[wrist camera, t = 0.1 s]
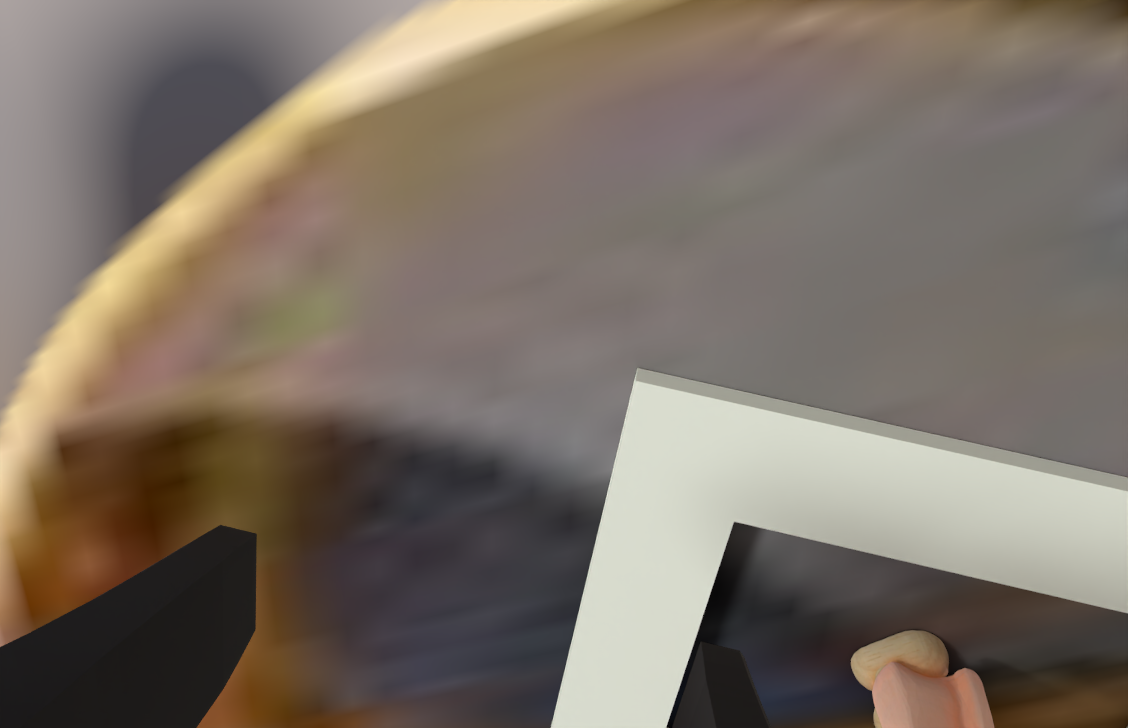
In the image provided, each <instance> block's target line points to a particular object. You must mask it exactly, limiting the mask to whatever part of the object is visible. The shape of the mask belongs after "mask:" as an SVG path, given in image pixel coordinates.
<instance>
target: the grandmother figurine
mask: <svg viewBox="0 0 1128 728" xmlns="http://www.w3.org/2000/svg"><path fill="white" fill-rule="evenodd" d="M948 666H949V657H948V653H947V650H946V648H945V646H944V644H943V642H942V641H941V640H940V639H939V638H938V637H936V636H935V635H933V634H931V633H929V632H926V631H923V630H921V631H916V630H909V631H904V632H901V633H898V634H895V635H893V636H889V637H887V638H885V639H883V640H880V641H877V642H874V643H872V644H869V645H868V646H865V647H862V648H860V649H859V650H858V651H856V652H855V653H854V655H853V657H852V659H851V667H852V670H853V673H854V675H855V677H856V679H857V680H858V681H859V682H860V683H861V684H862V685H863V686H864V687H866V688H867V689H869V690H871V691H872V695H873V701H874V705H875V710H874V724H875V727H876V728H994V723H993V719H992V715H991V712H990V708H989V705H988V701H987V698H986V694H985V691H984V687H983V683H982V681H981V679H980V678H979V676H978V675H977V673H975V672H974V671H973V670H970V669H967V668H963V669H961V670H958V671H956V672H955V673H954V675H952V676H948V677H946V676H947V675H948Z"/></svg>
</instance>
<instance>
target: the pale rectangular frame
mask: <svg viewBox="0 0 1128 728" xmlns="http://www.w3.org/2000/svg"><path fill="white" fill-rule="evenodd" d="M734 522H738V523H742V524H747V525H751V526H755V527H760V528H764V529H768V530H772V531H777V532H781V533H785V534H790V535H794V536H798V537H802V538H807V539H811V540H815V541H820V542H824V543H828V544H832V545H837V546H841V547H845V548H850V549H854V550H858V551H862V552H867V553H871V554H875V555H880V556H884V557H888V558H892V559H897V560H901V561H905V562H910V563H914V564H918V565H922V566H927V567H931V568H935V569H940V570H944V571H948V572H952V573H957V574H961V575H965V576H970V577H974V578H978V579H982V580H987V581H991V582H995V583H1000V584H1004V585H1008V586H1012V587H1017V588H1021V589H1025V590H1030V591H1034V592H1038V593H1043V594H1047V595H1051V596H1055V597H1060V598H1064V599H1068V600H1073V601H1077V602H1081V603H1085V604H1090V605H1094V606H1098V607H1103V608H1107V609H1111V610H1115V611H1120V612H1124V613H1128V477H1123V476H1119V475H1114V474H1110V473H1105V472H1101V471H1096V470H1092V469H1087V468H1083V467H1078V466H1074V465H1070V464H1065V463H1061V462H1056V461H1052V460H1047V459H1043V458H1038V457H1034V456H1029V455H1025V454H1020V453H1016V452H1011V451H1007V450H1002V449H998V448H994V447H989V446H985V445H980V444H976V443H971V442H967V441H962V440H958V439H953V438H949V437H944V436H940V435H935V434H931V433H926V432H922V431H918V430H913V429H909V428H904V427H900V426H895V425H891V424H886V423H882V422H877V421H873V420H868V419H864V418H859V417H855V416H850V415H846V414H842V413H837V412H833V411H828V410H824V409H819V408H815V407H810V406H806V405H801V404H797V403H792V402H788V401H783V400H779V399H774V398H770V397H766V396H761V395H757V394H752V393H748V392H743V391H739V390H734V389H730V388H725V387H721V386H716V385H712V384H707V383H703V382H698V381H694V380H690V379H685V378H681V377H676V376H672V375H667V374H663V373H658V372H654V371H649V370H645V369H640V368H637V372H636V376H635V380H634V384H633V388H632V392H631V397H630V401H629V405H628V409H627V413H626V417H625V422H624V426H623V430H622V434H621V438H620V442H619V446H618V451H617V455H616V459H615V463H614V467H613V471H612V476H611V480H610V484H609V488H608V492H607V496H606V501H605V505H604V509H603V513H602V517H601V521H600V526H599V530H598V534H597V538H596V542H595V546H594V551H593V555H592V559H591V563H590V567H589V571H588V575H587V580H586V584H585V588H584V592H583V596H582V600H581V605H580V609H579V613H578V617H577V621H576V625H575V630H574V634H573V638H572V642H571V646H570V650H569V655H568V659H567V663H566V667H565V671H564V675H563V680H562V684H561V688H560V692H559V696H558V700H557V704H556V709H555V713H554V717H553V721H552V725H551V728H667V724H668V721H669V718H670V714H671V711H672V708H673V705H674V702H675V699H676V696H677V693H678V690H679V687H680V684H681V681H682V678H683V675H684V672H685V669H686V666H687V663H688V660H689V657H690V654H691V651H692V648H693V645H694V642H695V639H696V636H697V633H698V630H699V626H700V623H701V620H702V617H703V614H704V611H705V608H706V605H707V602H708V599H709V596H710V593H711V590H712V587H713V584H714V581H715V578H716V575H717V572H718V569H719V566H720V563H721V560H722V557H723V554H724V551H725V548H726V545H727V541H728V538H729V535H730V532H731V529H732V526H733V523H734ZM1126 728H1128V726H1127V727H1126Z"/></svg>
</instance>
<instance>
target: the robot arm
mask: <svg viewBox="0 0 1128 728" xmlns="http://www.w3.org/2000/svg"><path fill="white" fill-rule="evenodd" d="M256 536H257V534H255V533H251V532H247V531H243V530H239V529H235V528H231V527H227V526H222V525H220V526H218V527H216V528H214V529H213V530H211V531H209V532H207V533H206V534H204V535H202V536H201V537H199V538H197V539H196V540H194V541H192V542H191V543H189V544H187V545H185V546H184V547H182V548H180V549H179V550H177V551H175V552H174V553H172V554H170V555H169V556H167V557H165V558H164V559H162V560H160V561H159V562H157V563H155V564H154V565H152V566H150V567H149V568H147V569H145V570H144V571H142V572H140V573H138V574H137V575H135V576H133V577H132V578H130V579H128V580H126V581H125V582H123V583H121V584H119V585H118V586H116V587H114V588H112V589H111V590H109V591H107V592H105V593H104V594H102V595H100V596H98V597H97V598H95V599H93V600H91V601H90V602H88V603H86V604H84V605H82V606H80V607H78V608H76V609H74V610H72V611H70V612H69V613H67V614H65V615H63V616H61V617H59V618H57V619H55V620H53V621H51V622H50V623H48V624H46V625H44V626H42V627H40V628H38V629H36V630H34V631H32V632H31V633H29V634H27V635H24V636H22V637H20V638H18V639H16V640H14V641H12V642H10V643H8V644H6V645H4V646H2V647H0V728H196V727H197V726H198V725H199V723H200V722H201V720H202V719H203V717H204V716H205V715H206V713H207V712H208V710H209V709H210V707H211V706H212V705H213V703H214V702H215V700H216V699H217V697H218V696H219V694H220V693H221V691H222V690H223V689H224V687H225V685H226V683H227V682H228V680H229V678H230V676H231V674H232V673H233V671H234V669H235V667H236V665H237V664H238V662H239V660H240V658H241V656H242V654H243V652H244V650H245V649H246V647H247V645H248V643H249V641H250V639H251V637H252V635H253V633H254V631H255V620H256ZM672 728H771V726H770V724H769V721H768V719H767V716H766V714H765V711H764V709H763V707H762V704H761V701H760V699H759V696H758V694H757V691H756V689H755V686H754V683H753V680H752V678H751V675H750V672H749V670H748V667H747V664H746V661H745V658H744V657H743V655H742V654H741V652H740V651H738V650H734V649H730V648H726V647H722V646H718V645H714V644H709V643H705V642H700V645H699V648H698V651H697V654H696V657H695V660H694V663H693V666H692V669H691V672H690V675H689V678H688V681H687V684H686V687H685V690H684V693H683V696H682V699H681V702H680V705H679V708H678V711H677V714H676V717H675V720H674V723H673V726H672Z"/></svg>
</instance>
